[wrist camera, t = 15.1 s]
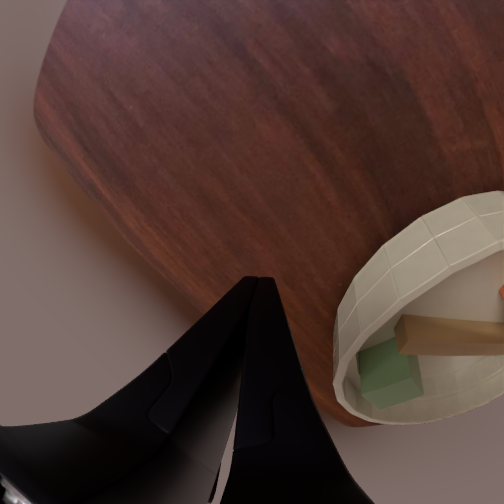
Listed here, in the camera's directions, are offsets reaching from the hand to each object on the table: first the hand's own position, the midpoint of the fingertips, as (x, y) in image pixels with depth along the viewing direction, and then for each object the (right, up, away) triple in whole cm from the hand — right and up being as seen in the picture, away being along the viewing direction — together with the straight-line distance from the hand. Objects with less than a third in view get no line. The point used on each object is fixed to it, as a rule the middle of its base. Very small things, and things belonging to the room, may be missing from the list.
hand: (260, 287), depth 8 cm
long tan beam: (+16, -5, +9) cm, 19 cm away
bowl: (+16, -4, +9) cm, 19 cm away
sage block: (+11, -7, +12) cm, 18 cm away
